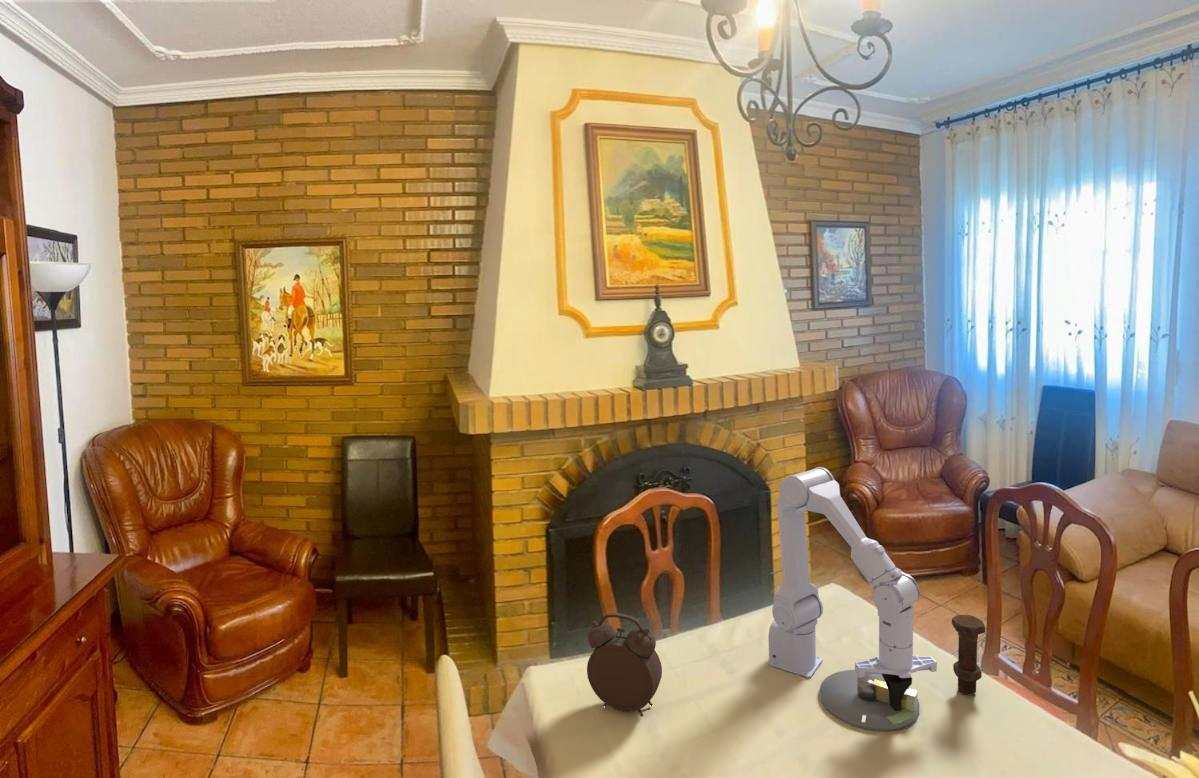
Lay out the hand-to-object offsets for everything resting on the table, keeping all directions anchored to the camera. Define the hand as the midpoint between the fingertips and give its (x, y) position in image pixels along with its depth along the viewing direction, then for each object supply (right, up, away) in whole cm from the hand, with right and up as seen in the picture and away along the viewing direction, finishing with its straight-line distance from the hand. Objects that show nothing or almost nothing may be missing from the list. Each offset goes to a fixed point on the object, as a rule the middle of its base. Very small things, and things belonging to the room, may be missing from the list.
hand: (895, 707), depth 123 cm
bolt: (+17, 0, +7) cm, 18 cm away
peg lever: (0, 0, +3) cm, 3 cm away
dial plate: (-3, -2, +6) cm, 6 cm away
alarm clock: (-50, -4, +9) cm, 51 cm away
